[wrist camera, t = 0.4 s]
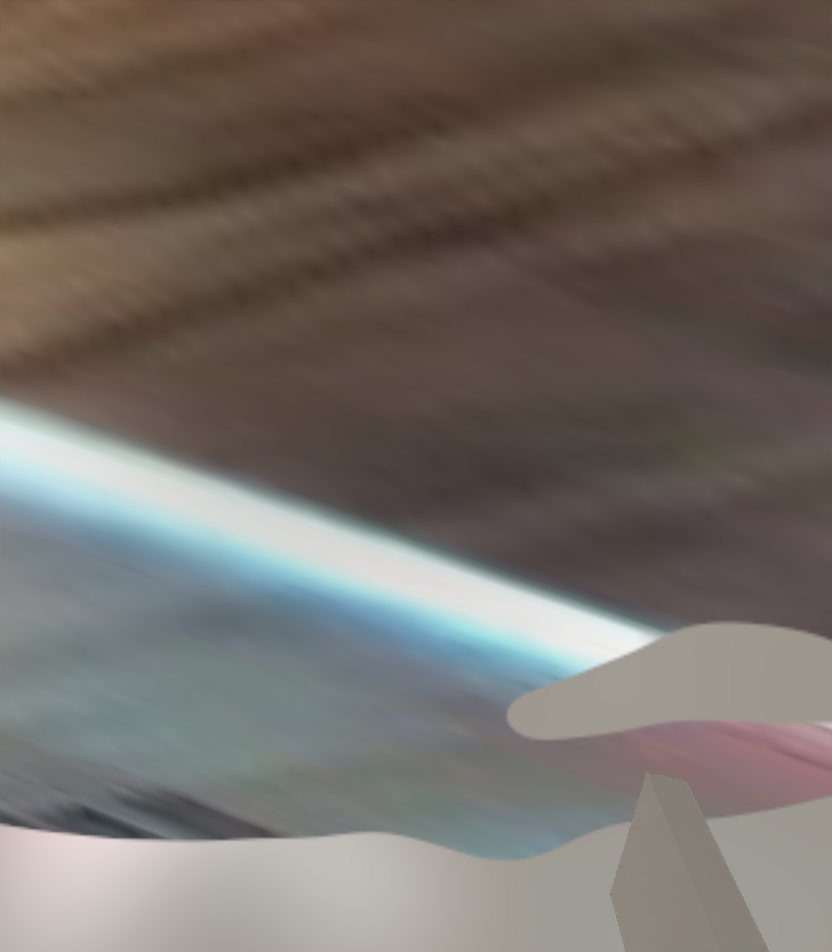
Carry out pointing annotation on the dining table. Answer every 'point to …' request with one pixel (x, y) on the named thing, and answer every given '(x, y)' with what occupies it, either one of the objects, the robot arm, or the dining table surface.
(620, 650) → the dining table surface
